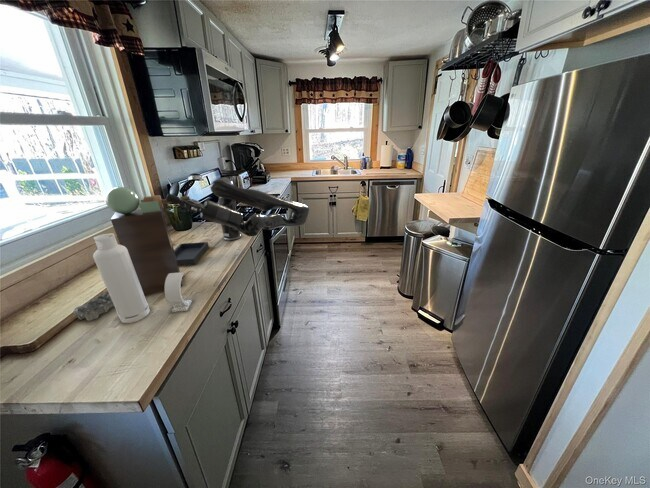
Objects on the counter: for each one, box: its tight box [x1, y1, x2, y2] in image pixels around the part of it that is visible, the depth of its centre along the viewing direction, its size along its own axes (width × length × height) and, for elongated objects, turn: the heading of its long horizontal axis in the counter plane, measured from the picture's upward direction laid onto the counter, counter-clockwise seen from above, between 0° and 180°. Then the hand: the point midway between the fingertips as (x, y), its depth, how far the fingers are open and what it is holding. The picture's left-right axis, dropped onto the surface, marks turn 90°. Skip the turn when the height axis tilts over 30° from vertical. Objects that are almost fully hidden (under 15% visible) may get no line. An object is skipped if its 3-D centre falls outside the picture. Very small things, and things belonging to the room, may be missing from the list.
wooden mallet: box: [142, 194, 191, 210], centre depth 93 cm, size 5×14×5 cm, turn 120°
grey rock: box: [72, 292, 115, 322], centre depth 87 cm, size 11×8×4 cm
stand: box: [110, 208, 183, 297], centre depth 96 cm, size 10×14×30 cm
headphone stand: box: [164, 271, 193, 313], centre depth 86 cm, size 5×6×12 cm
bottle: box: [92, 232, 151, 324], centre depth 80 cm, size 8×8×28 cm
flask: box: [104, 186, 161, 214], centre depth 88 cm, size 9×14×9 cm, turn 120°
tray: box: [173, 241, 210, 267], centre depth 125 cm, size 20×14×3 cm
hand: (167, 196), depth 93 cm, fingers closed on wooden mallet
